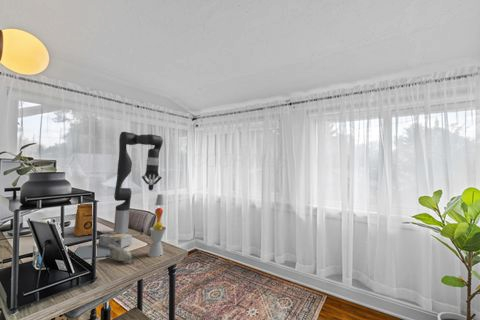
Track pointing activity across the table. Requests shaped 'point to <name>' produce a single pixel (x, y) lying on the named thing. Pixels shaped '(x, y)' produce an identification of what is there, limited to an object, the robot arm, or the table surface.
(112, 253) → the decorative bird
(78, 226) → the coffee package
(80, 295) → the table surface
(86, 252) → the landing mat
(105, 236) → the coffee box
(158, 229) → the lava lamp
